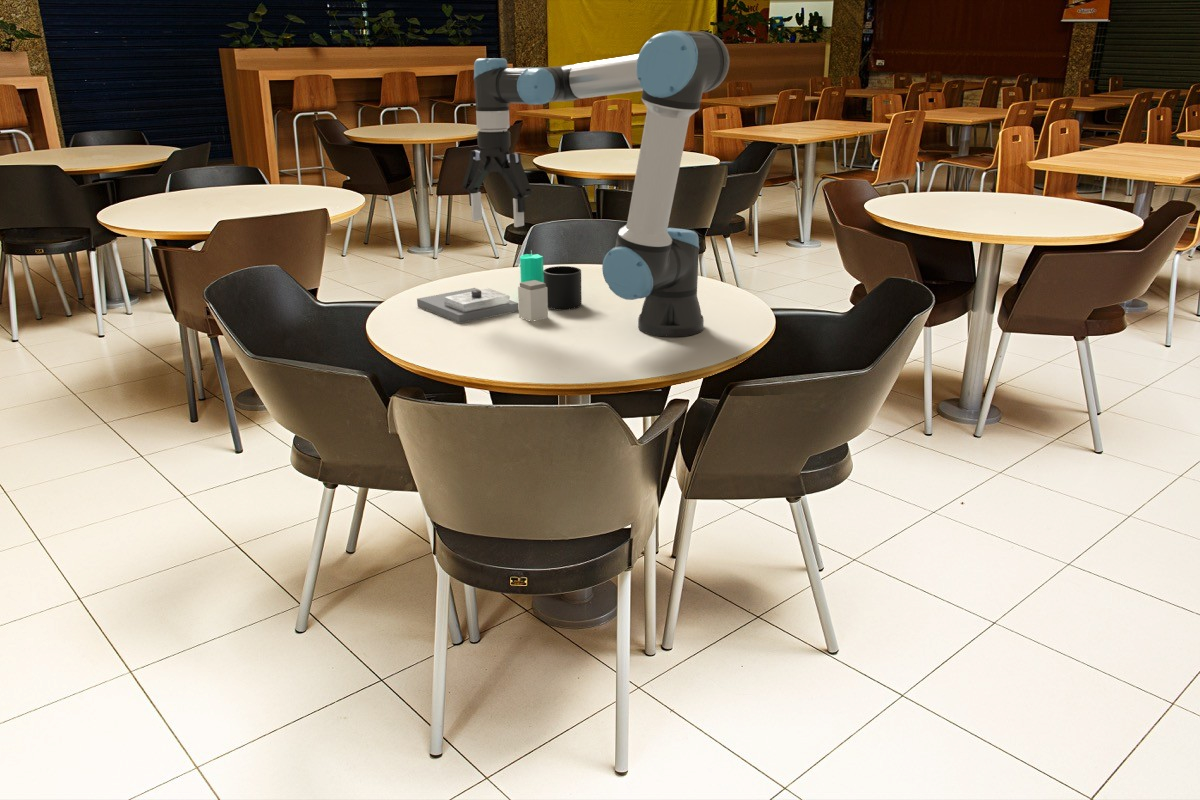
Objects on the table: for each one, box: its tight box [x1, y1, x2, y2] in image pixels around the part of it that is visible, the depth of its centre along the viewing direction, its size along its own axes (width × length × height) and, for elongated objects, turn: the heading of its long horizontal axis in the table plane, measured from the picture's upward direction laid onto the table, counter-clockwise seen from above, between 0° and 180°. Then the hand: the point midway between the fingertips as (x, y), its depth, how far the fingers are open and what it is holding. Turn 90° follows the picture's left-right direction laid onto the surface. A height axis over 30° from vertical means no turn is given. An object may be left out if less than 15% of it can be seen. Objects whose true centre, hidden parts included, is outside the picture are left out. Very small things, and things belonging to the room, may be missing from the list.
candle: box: [519, 250, 544, 283], centre depth 241 cm, size 6×6×12 cm
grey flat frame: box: [416, 287, 519, 324], centre depth 231 cm, size 20×17×2 cm
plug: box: [517, 280, 549, 322], centre depth 223 cm, size 5×5×8 cm
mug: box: [543, 265, 583, 311], centre depth 234 cm, size 9×12×9 cm
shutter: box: [444, 288, 510, 312], centre depth 227 cm, size 9×13×3 cm
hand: (497, 223), depth 219 cm, fingers open, 13 cm apart
